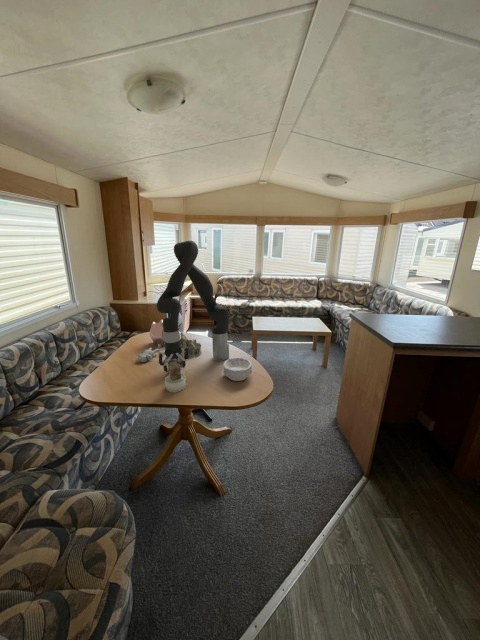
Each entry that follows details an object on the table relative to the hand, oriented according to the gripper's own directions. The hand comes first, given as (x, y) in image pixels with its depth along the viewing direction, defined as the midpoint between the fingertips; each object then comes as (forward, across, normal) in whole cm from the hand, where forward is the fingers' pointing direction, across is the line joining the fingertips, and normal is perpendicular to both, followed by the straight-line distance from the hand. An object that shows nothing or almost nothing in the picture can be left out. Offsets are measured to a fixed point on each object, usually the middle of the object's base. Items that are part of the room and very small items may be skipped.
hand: (174, 369), depth 129 cm
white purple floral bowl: (+10, -32, +7) cm, 34 cm away
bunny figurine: (+10, +6, -42) cm, 43 cm away
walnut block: (+5, 0, 0) cm, 5 cm away
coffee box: (+10, -6, -19) cm, 22 cm away
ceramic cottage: (+10, -17, -33) cm, 39 cm away
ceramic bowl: (+10, 0, 0) cm, 10 cm away
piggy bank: (+10, -8, -62) cm, 63 cm away
